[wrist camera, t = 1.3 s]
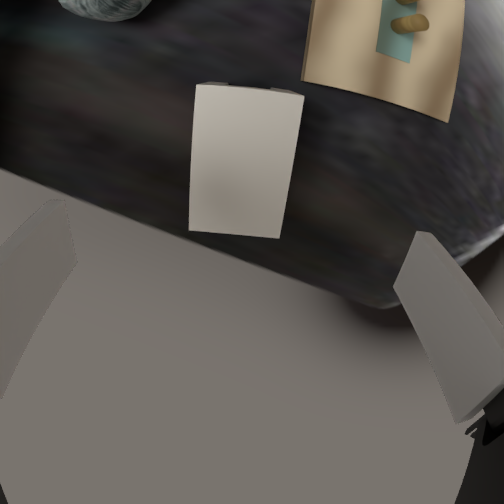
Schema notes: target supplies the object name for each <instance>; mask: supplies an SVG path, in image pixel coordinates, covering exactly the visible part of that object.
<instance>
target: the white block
mask: <svg viewBox="0 0 504 504" xmlns="http://www.w3.org/2000/svg"><path fill="white" fill-rule="evenodd" d="M303 102H304V96H303V95H300V94H298V93H295V92H293V91H290V90H285V89H278V88H271V89H270V90H269V89H262V88H253V87H243V86H232V85H228V83H222V82H206V83H201V84H197V85H196V95H195V107H194V120H193V135H192V152H191V173H190V201H189V230H191V231H203V232H214V233H225V234H236V235H247V236H258V237H269V238H279V237H280V232H281V227H282V221H283V216H284V211H285V205H286V200H287V195H288V189H289V184H290V178H291V172H292V167H293V161H294V155H295V150H296V144H297V138H298V132H299V126H300V120H301V114H302V108H303Z"/></svg>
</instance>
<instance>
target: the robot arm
mask: <svg viewBox="0 0 504 504" xmlns="http://www.w3.org/2000/svg"><path fill="white" fill-rule="evenodd" d="M76 264H77V258H76V253H75V249H74V245H73V240H72V236H71V231H70V226H69V221H68V216H67V210H66V204H65V200H49V201H48V202H46V203H45V204H44V205H43V206H42V207H41V208H39V209H38V210H37V211H36V212H35V213H34V214H33V215H32V216H31V217H30V218H29V219H28V220H27V221H25V222H24V223H23V224H22V225H21V226H20V227H19V228H18V229H17V230H16V231H15V232H14V233H13V234H12V235H11V236H10V237H9V238H8V239H7V240H6V242H4V243H3V244H2V245H1V246H0V399H2V398H3V396H4V393H5V391H6V389H7V386H8V384H9V382H10V380H11V377H12V375H13V373H14V371H15V369H16V367H17V365H18V363H19V361H20V359H21V357H22V355H23V353H24V351H25V349H26V347H27V345H28V343H29V341H30V339H31V337H32V335H33V334H34V332H35V330H36V328H37V327H38V325H39V323H40V321H41V319H42V318H43V316H44V314H45V313H46V311H47V309H48V308H49V306H50V304H51V302H52V301H53V299H54V298H55V296H56V294H57V293H58V291H59V289H60V288H61V286H62V285H63V283H64V282H65V280H66V279H67V277H68V275H69V274H70V272H71V271H72V270H73V268H74V267H75V265H76ZM393 288H394V290H395V292H396V294H397V295H398V297H399V299H400V301H401V303H402V305H403V307H404V309H405V311H406V313H407V314H408V317H409V318H410V321H411V322H412V324H413V327H414V328H415V330H416V333H417V334H418V337H419V339H420V341H421V343H422V345H423V347H424V349H425V352H426V354H427V356H428V358H429V360H430V363H431V365H432V367H433V369H434V372H435V374H436V376H437V379H438V381H439V383H440V386H441V388H442V391H443V393H444V396H445V398H446V401H447V403H448V406H449V408H450V411H451V414H452V416H453V419H454V422H455V424H457V423H461V422H463V421H466V420H469V419H471V418H472V417H474V416H475V415H476V414H477V413H478V412H479V411H480V410H481V409H484V412H485V414H484V415H483V416H482V417H481V418H480V419H479V420H477V421H476V422H475V423H474V424H472V425H471V426H470V427H469V428H468V429H467V430H466V432H465V434H466V435H468V434H469V433H470V432H471V431H473V430H474V429H475V428H477V430H476V431H475V432H473V433H472V434H471V437H472V438H474V439H475V441H474V446H473V449H472V453H471V456H470V460H469V463H468V467H467V470H466V473H465V476H464V479H463V482H462V485H461V488H460V490H459V493H458V496H457V498H456V501H455V504H504V327H503V326H502V324H501V322H500V321H499V319H498V318H497V316H496V315H495V313H494V312H493V311H492V309H491V308H490V306H489V305H488V303H487V302H486V301H485V300H484V298H483V297H482V295H481V294H480V292H479V291H478V290H477V288H476V287H475V286H474V284H473V283H472V282H471V280H470V279H469V278H468V276H467V275H466V274H465V273H464V271H463V270H462V269H461V268H460V266H459V265H458V264H457V263H456V261H455V260H454V259H453V258H452V257H451V255H450V254H449V253H448V252H447V251H446V249H445V248H444V247H443V246H442V245H441V244H440V242H439V241H438V240H437V239H436V238H435V237H434V236H433V234H432V233H428V232H422V231H416V234H415V236H414V239H413V241H412V244H411V246H410V249H409V251H408V254H407V256H406V258H405V261H404V263H403V265H402V268H401V270H400V272H399V274H398V277H397V279H396V281H395V283H394V285H393ZM0 504H8V502H7V500H6V497H5V495H4V493H3V490H2V487H1V484H0Z"/></svg>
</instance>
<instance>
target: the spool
mask: <svg viewBox="0 0 504 504" xmlns="http://www.w3.org/2000/svg"><path fill="white" fill-rule="evenodd" d="M59 2H60V4H61V5H62V6H63V7H64V8H65V9H67V10H69V11H70V12H72V13H74V14H76V15H79V16H82V17H85V18H89V19H93V20H100V21H108V22H116V21H122V20H126V19H130V18H133V17H135V16H137V15H138V14H139V13H140V12H141V11H142V10H143V9H144V8H145V7H146V6H147V5H148V4H149V3H150V2H151V0H59Z"/></svg>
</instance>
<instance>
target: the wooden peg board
mask: <svg viewBox="0 0 504 504" xmlns="http://www.w3.org/2000/svg"><path fill="white" fill-rule="evenodd" d="M464 7H465V0H312V4H311V12H310V19H309V26H308V33H307V40H306V47H305V53H304V60H303V67H302V73H301V80H300V81H306V82H311V83H316V84H321V85H326V86H331V87H335V88H340V89H344V90H348V91H352V92H356V93H360V94H364V95H367V96H371V97H374V98H378V99H381V100H385V101H388V102H391V103H394V104H397V105H400V106H403V107H406V108H409V109H412V110H415V111H418V112H421V113H423V114H426V115H429V116H431V117H434V118H436V119H439V120H441V121H444V122H447V123H448V120H449V116H450V111H451V107H452V102H453V97H454V92H455V86H456V80H457V74H458V68H459V61H460V54H461V45H462V36H463V24H464Z"/></svg>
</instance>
